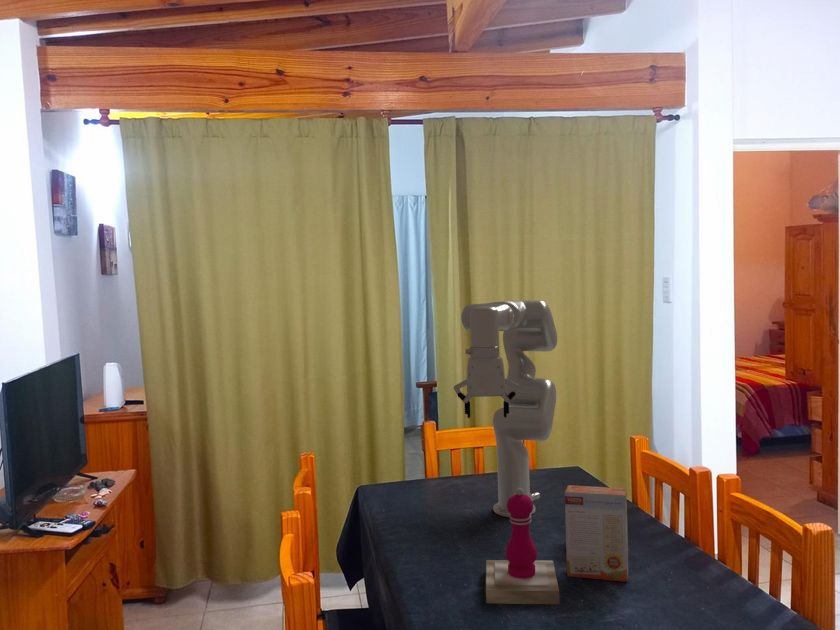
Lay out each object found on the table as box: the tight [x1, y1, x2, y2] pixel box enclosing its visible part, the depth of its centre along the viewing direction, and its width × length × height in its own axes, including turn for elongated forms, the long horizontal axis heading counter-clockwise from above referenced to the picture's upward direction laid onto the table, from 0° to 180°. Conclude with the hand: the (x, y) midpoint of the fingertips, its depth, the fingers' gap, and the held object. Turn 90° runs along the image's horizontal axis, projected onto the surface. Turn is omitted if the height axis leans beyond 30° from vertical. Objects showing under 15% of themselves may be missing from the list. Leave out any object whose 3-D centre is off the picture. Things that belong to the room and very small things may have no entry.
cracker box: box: [564, 484, 629, 583], centre depth 170 cm, size 14×6×21 cm, turn 71°
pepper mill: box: [505, 488, 538, 578], centre depth 165 cm, size 7×7×20 cm
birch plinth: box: [485, 559, 560, 605], centre depth 165 cm, size 16×16×3 cm
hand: (487, 416), depth 190 cm, fingers open, 9 cm apart
